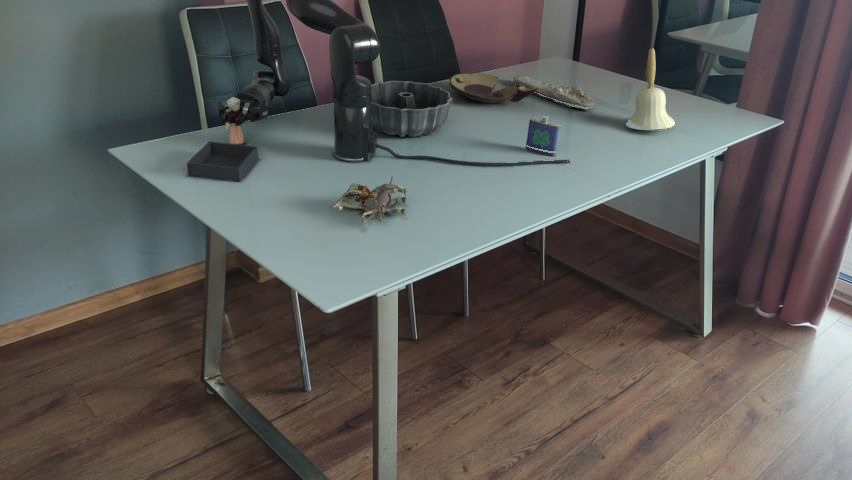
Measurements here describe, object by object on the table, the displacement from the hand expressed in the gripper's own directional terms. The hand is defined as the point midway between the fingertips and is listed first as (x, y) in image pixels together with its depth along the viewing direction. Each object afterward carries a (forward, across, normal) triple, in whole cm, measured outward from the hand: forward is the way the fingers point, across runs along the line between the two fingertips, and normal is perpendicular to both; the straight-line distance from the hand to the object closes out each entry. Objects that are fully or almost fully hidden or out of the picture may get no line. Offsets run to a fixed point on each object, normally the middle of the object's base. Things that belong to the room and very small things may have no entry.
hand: (230, 121), depth 191 cm
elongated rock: (-74, +84, +8) cm, 112 cm away
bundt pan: (-29, +40, +8) cm, 50 cm away
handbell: (-52, +115, +8) cm, 126 cm away
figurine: (+27, +40, +8) cm, 49 cm away
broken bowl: (-62, +63, +8) cm, 89 cm away
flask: (-21, +80, +8) cm, 83 cm away
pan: (+12, +2, +7) cm, 14 cm away
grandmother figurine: (-3, 0, +7) cm, 8 cm away
